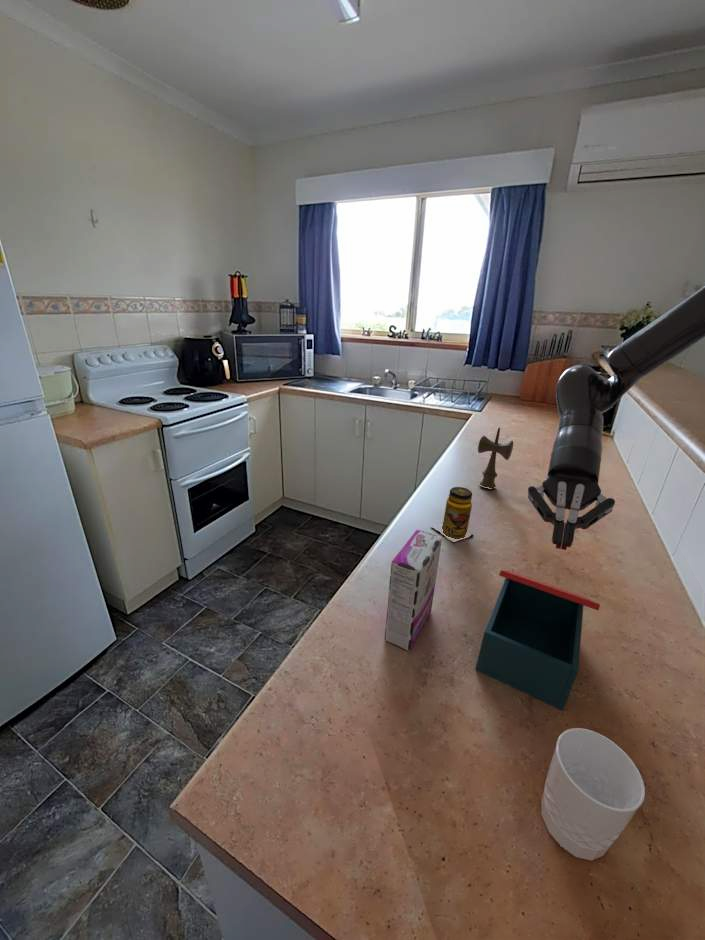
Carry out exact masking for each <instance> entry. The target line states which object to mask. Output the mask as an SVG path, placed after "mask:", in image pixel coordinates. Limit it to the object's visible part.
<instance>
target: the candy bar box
mask: <svg viewBox="0 0 705 940" xmlns="http://www.w3.org/2000/svg"><path fill="white" fill-rule="evenodd" d="M442 541H443V536H439V535H436V534H432V533H430V532H425V531H424V530H420V529H416V530H415V531H414V532H413V534H412V535H411V536H410V538H409V539H408V540H407V541H406V542H405V544H404V545H403V547H402V548H401V549H400V550H399V551H398V553H397V554H396V555H395V557H394V558H393V559H392V560H391V563H390V564H391V565H390V577H389V587H388V599H387V609H386V621H385V630H384V641H385V642H388V643H389V644H392V645H394V646H397V647H398V648H401V649H403V650H405V651H407V652H411V650H412V649H413V646H414V644H415V642H416V641H417V639H418V637H419V635H420V633H421V631H422V630H423V627H424V626H425V624H426V622H427V620H428V618H429V616H430V615H431V613H432V608H433V602H434V601H433V600H434V594H435V588H436V583H437V582H436V581H437V574H438V568H439V560H440V554H441V546H442Z"/></svg>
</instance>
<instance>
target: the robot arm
mask: <svg viewBox="0 0 705 940" xmlns="http://www.w3.org/2000/svg"><path fill="white" fill-rule="evenodd" d="M703 339H705V285H704V286H702V287H701V288H699V289H698V290H697V291H695V292H694V293H692V294H691V295H689V296H688V297H687V298H685V299H684V300H682V301H681V302H680V303H678V304H677V305H675V306H674V307H672V308H670V309H669V310H668V311H666V312H665V313H663V314H661V315H659V316H658V317H657V318H655V319H653V320H652V321H651V322H650V323H648V324H646V325H645V326H643V327H642V328H641V329H639V330H638V331H636V332H635V333H633V334H632V335H630V337H628V338H627V339H625V340H624V341H622V342H621V343H619V344H618V345H616V346H615V347H613V349H611V350H610V352H608V354H607V356H606V361H607V365H608V366H609V368H610V370H611V372H613V374H611V376H610V377H609V378H605V377H603V376H602V375H601V374H600V373H598V372H597V371H596V370H595V369H594V368H593V367H591V366H589V365H587V364H576V365H572V366H570V367H568V368H567V369H565V370H564V371H563V373H562V374H561V375H560V376H559V378H558V380H557V383H556V386H555V401H556V407H557V413H558V418H559V421H558V426H557V432H556V436H555V439H554V441H553V445H552V450H551V454H550V459H549V465H548V469H547V474H546V475H547V476H546V478H545V479H544V480H543V481H542V484H541V485H538V486H534V485H531V486H528V488H527V499H528V500H529V502H530V503H531V505H532V506H533V508H534V509H535V510H536V511H537V513H538V515H539V517H541V519H542V520H543V522H545V523H550V524H552V525H553V529H552V536H551V542H552V545H555V549H558V550H564V551H567V548H571V547H572V546H573V543H574V538H575V530H577V529H582V530H587V529H589V528H590V527H591V526H593V525H595V524H596V523H597V522H599V521H600V520H601V519H603V518H605V517H606V516H607V515H609V514H610V513H612V512H613V509H614V508H615V505H616V500H615V499H614V498H612V497H606V496H605V495H604V494H602V489H601V487H600V485H599V480H600V472H601V463H602V455H603V442H602V441H603V430H604V416H603V413H605V412H607V411H609V410H610V409H611V408H612V407H613V406H614V405H616V403H618V401H620V399H621V398H622V397H623V396H624V395H625V394H626V393H627V392H628V391H629V390H630V389H632V387H634V386H635V385H636V384H637V383H638V382H639V381H640V380H642V379H643V378H644V377H646V376H648V375H650V374H651V373H653V372H654V371H656V370H658V369H660V368H661V367H662V366H664V365H665V364H668V363H669V362H671V361H672V360H674V359H675V358H677V357H678V356H680V355H682V354H683V353H685V351H687V350H689V349H690V348H691V347H693V346H694V345H696V344H697V343H699V342H701V340H703ZM544 496H546V497H547V499H548V500H549V502H550V503H551V505H552V506H554V507H555V511H553V510H552V509H551V507H550V506H549V504H548V503H547V501H546V500H545V499H544V498H545V497H544ZM594 503H595V505H594V507H593V508H591V509H590V510H589V511H587V512H586V513H584V514H583V515H582V516H579V514H580V511H583V510H586V508H588V507H589V506H590V505H592V504H594ZM566 510H568V511H569V512H568V517H567V519H566V522H565V513H566Z"/></svg>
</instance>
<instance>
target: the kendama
mask: <svg viewBox="0 0 705 940" xmlns="http://www.w3.org/2000/svg"><path fill="white" fill-rule="evenodd" d="M500 433H501V427H498V428H497V431H496V435H495V439H494V441H492V440H490V439H489V438H488V437H487V436H486V435H482V436H481V438H480V439H479V442H478V445H477V452H478V454H483V453H486V452H491V454H490V458H489V460H488V462H487V465H486V468H485V470H483V471H482V473H481V474H482V480H481V481H480V482H479V483H480V485H482V486H484V487H489V488H494V487H496V488H497V485H496V483H495V479H496V478H497V477H498V473H497V472H496V461H497V454H499V455H500V456H502V458H503V459H504V460H506V461H508V460H510V458H511V456H512V453H513V449H514V441H513V440H509V441H506V442H501V443H500V442H499V439H500ZM480 485H479V486H480Z"/></svg>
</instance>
